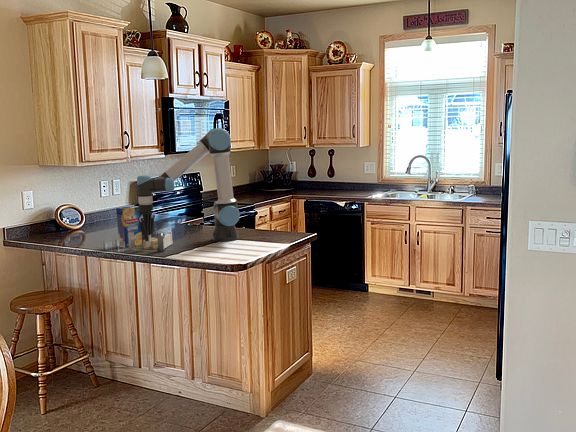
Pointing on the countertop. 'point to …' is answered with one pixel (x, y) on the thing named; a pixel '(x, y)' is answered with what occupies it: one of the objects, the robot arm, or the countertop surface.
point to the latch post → (131, 241)
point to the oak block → (153, 244)
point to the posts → (160, 244)
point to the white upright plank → (167, 239)
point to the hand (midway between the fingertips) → (148, 246)
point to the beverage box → (128, 225)
